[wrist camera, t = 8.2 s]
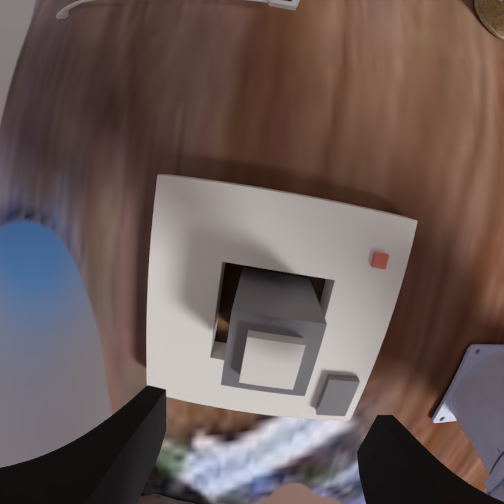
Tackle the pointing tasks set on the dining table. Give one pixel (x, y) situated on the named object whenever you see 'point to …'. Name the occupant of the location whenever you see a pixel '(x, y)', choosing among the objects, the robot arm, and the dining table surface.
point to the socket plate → (273, 258)
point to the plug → (273, 333)
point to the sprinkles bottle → (491, 15)
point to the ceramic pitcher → (159, 500)
